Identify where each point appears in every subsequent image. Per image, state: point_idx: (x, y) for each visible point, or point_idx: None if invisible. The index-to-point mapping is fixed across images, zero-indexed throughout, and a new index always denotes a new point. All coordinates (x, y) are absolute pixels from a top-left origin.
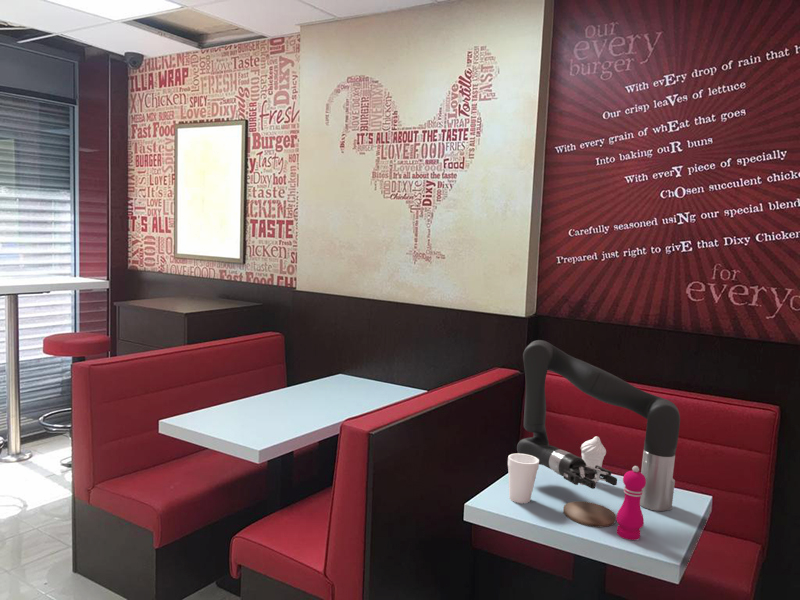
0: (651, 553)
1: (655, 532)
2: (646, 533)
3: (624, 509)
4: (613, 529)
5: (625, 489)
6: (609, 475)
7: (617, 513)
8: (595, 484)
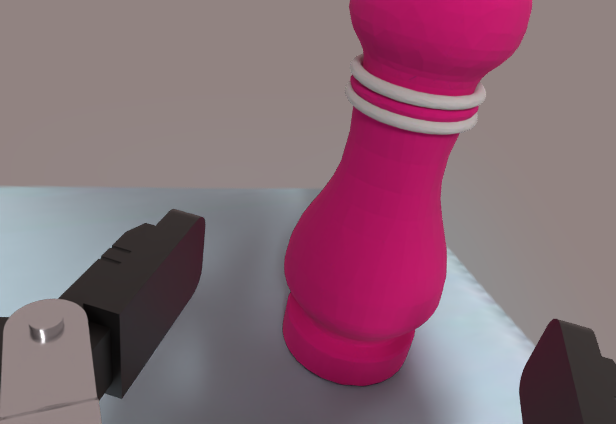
0: None
1: None
2: (234, 289)
3: (441, 220)
4: (353, 413)
5: (483, 98)
6: (137, 275)
7: (417, 296)
8: (542, 336)
